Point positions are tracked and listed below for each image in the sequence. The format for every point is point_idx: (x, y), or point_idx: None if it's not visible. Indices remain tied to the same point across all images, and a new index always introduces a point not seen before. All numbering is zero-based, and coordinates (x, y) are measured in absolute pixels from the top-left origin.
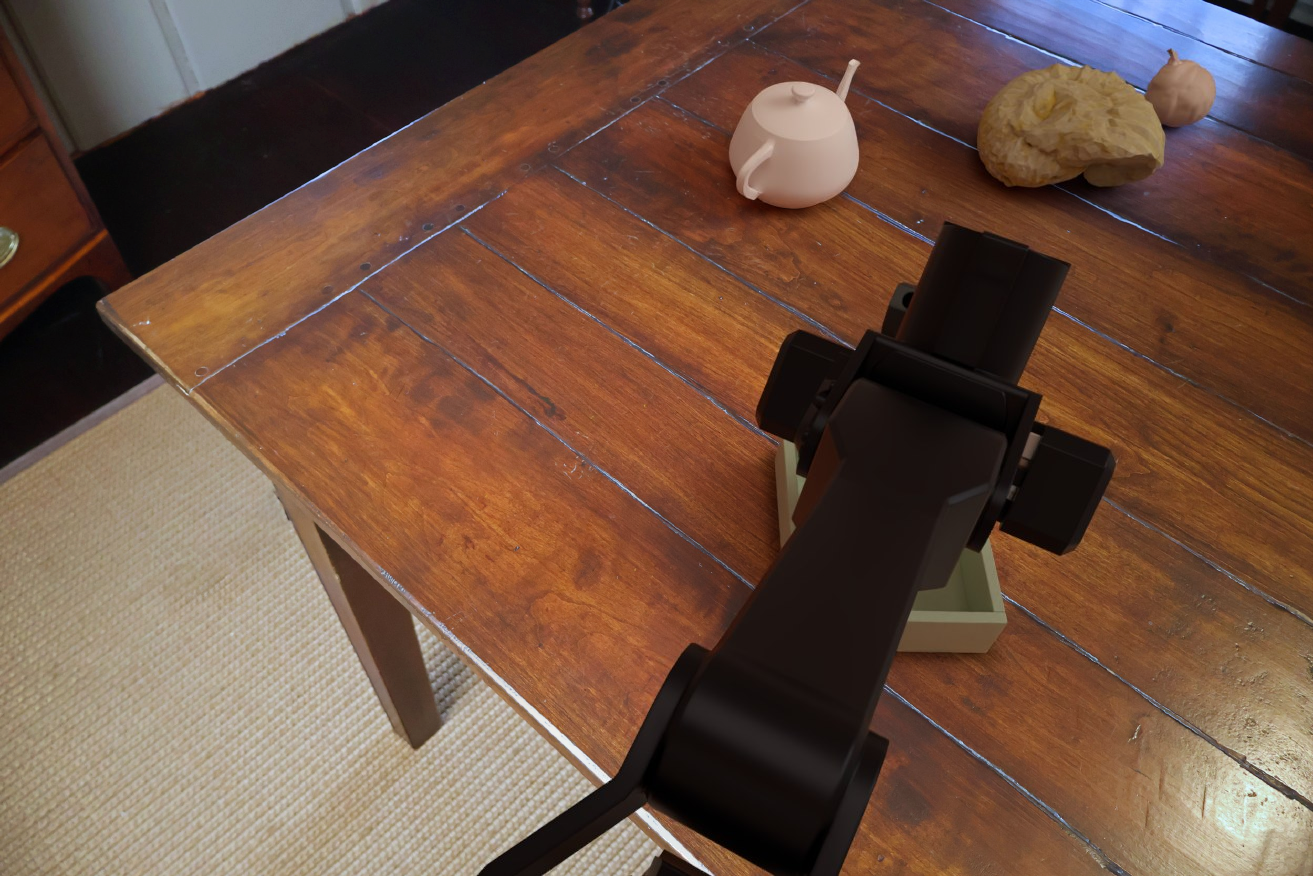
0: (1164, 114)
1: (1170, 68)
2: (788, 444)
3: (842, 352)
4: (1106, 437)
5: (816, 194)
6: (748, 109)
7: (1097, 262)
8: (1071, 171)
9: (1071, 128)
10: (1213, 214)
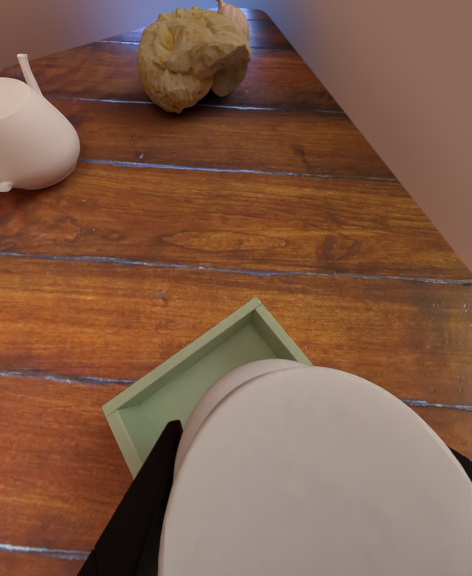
0: None
1: (221, 9)
2: (116, 427)
3: None
4: (319, 233)
5: (54, 165)
6: None
7: (248, 135)
8: (206, 83)
9: (191, 44)
10: (281, 88)
